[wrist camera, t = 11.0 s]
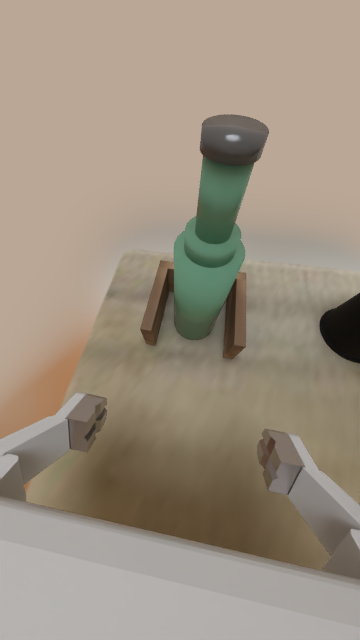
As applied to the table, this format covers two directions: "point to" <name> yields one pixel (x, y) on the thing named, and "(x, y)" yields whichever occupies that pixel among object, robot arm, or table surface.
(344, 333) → the aerosol can
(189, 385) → the table surface
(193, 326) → the bottle
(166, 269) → the u rest
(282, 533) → the table surface
